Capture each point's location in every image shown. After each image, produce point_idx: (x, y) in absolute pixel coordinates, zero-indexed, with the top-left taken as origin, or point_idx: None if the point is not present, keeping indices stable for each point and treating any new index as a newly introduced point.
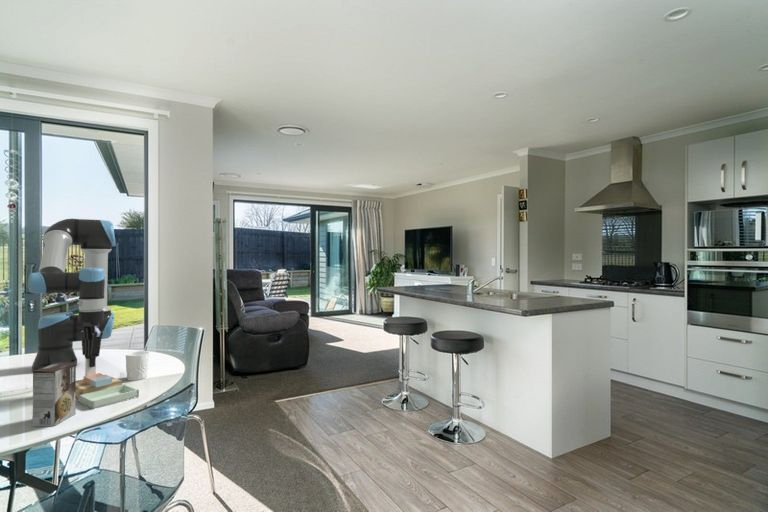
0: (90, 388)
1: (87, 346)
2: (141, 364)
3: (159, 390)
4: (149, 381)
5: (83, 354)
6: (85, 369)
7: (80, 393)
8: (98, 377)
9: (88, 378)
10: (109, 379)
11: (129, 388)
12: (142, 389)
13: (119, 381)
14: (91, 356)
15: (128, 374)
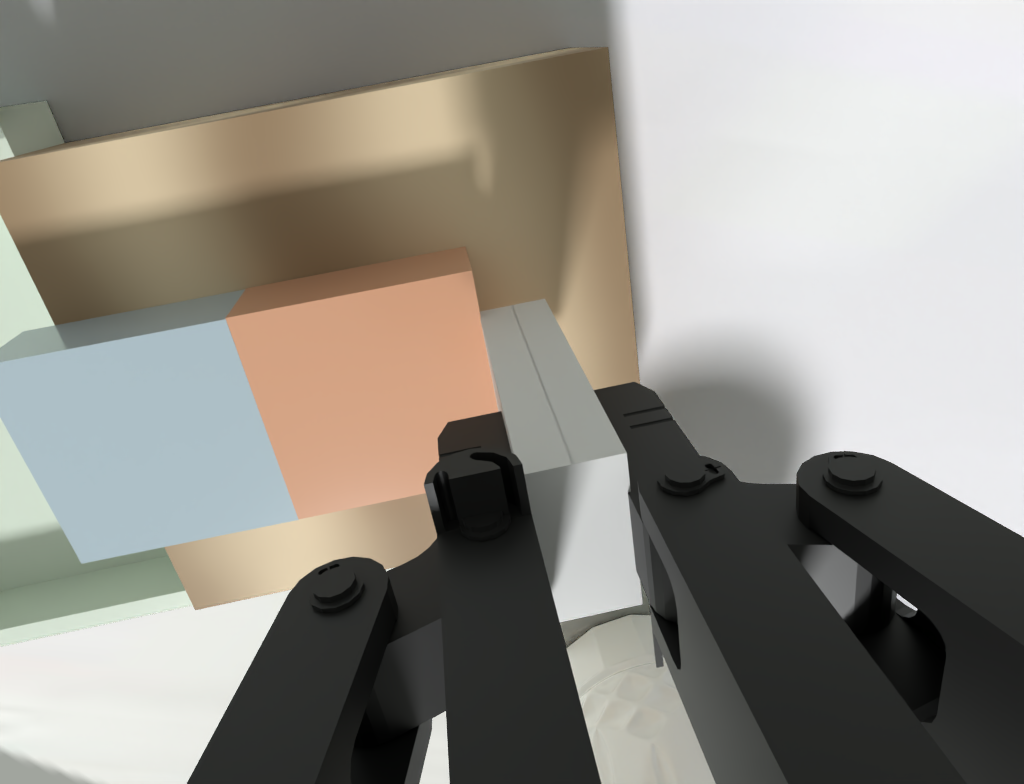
0: (33, 268)
1: (762, 751)
2: None
3: (71, 755)
4: (439, 732)
5: (816, 465)
6: (562, 341)
7: (104, 139)
8: (240, 431)
9: (270, 310)
10: (70, 527)
11: (66, 606)
12: (201, 663)
13: (185, 586)
14: (291, 595)
15: (629, 664)
